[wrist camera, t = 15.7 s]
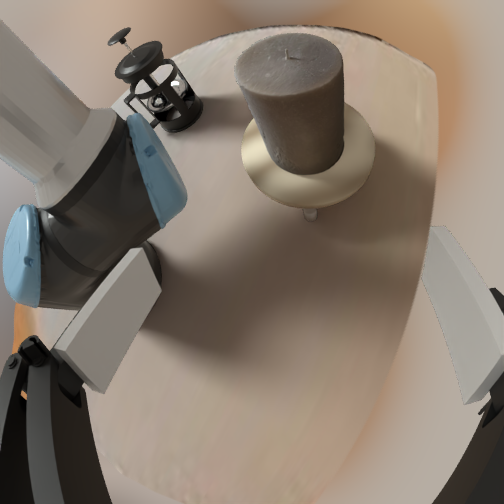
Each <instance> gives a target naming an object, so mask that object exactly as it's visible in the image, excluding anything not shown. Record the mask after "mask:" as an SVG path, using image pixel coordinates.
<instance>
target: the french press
mask: <svg viewBox="0 0 504 504" xmlns="http://www.w3.org/2000/svg"><path fill="white" fill-rule="evenodd" d="M130 30H131V28H129V27H128V28H124V29H122V30H120V31H119V32H117V33H116V34H115V35H114V36H113V37H112V38H111V39H110V40H109V41H108V45H109V46H110V45H113V44H115V43H117V42H120V43H121V44H124V45H125V46H126V47H127V48H128V49H129V51H130V53H129V54H128V55H127V56H125V57H124V58H123V59H122V61H121V62H120V63H119V64H118V66H117V68H116V70H115V76H116V77H117V78H119V79H123V81H124V82H125V83H129V84H130V83H131V86H130V92H131V94H129V95H128V96H127V97H126V98H125V99H124V102H125V103H126V104H127V105H128V106H129V107H130V108H131V109H132V110H133V111H134V112H135V113H138V112H137V111H136V110H135V109H134V108H133V107H132V106H131V105H130V104H129V103H130V102H131V101H132V100H133V99H134V98H135V97H136V98H137V100H138V101H139V102H140V103H141V104H142V105H143V106H144V107H145V108H146V109H147V110H148V111H149V112H150V113H151V115H152V116H153V117H154V118H155V119H154V120H153V121H152V122H151V123H150V126H151V127H152V128H153V129H154V128H155V127H156V126H157V125H158V124H159V123H160V124H161V127H162V128H163V129H164V130H165V131H167V132H179V131H182V130H184V129H186V128H188V127H190V126H191V125H192V124H193V123H195V121H196V120H197V119H198V118H199V117H200V115H201V113H202V110H203V103H202V101H201V99H199V98H198V97H197V95H196V94H195V92H194V91H193V89H192V88H191V86H190V85H189V83H188V82H187V80H186V79H185V77H184V76H183V74H182V73H181V72H180V70H179V69H178V67H177V66H176V64H175V63H174V61H173V60H171V59H164V56H163V52H162V44H161V43H160V42H159V41H152V42H148V43H145V44H143V45H141V46H139V47H137V48H136V49H134V50H133V51H132V50H131V48H130V47H129V46H128V45H127V43H126V39H125V38H124V37H125V36H126V35H127V34H128V33H129V32H130ZM165 64H171V65H172V66H173V70H172V72H171V74H170V75H169V76H168V78H167V79H166V80H165V81H164V82H163V83H161V84H159V83H158V82H157V80H156V79H155V78H154V77H153V75H152V74H151V73H152V72H154V71H155V70H156V69H157V68H158V67H159V66H161V65H165ZM177 73H178V75H179V76H180V78H181V79H175V78H176V76H177ZM142 79H143V80H144V81H145V82H146V83H147V84H148V86H149V87H150V88H151V89H152V90H151V91H149V92H146V93H143V94H135V88H136V86H137V84H138V82H139V81H140V80H142ZM148 98H149V99H148ZM140 99H148V102H147V107H148V108H147V107H146V105H145V104H144V103H143V102H142V101H141V100H140ZM186 100H190V101H193V103H192V105H191V107H190V108H188V107H187V106H186V104H185V103H184V102H183V101H186ZM174 107H175V108H176V109H177V110H178V111H179V113H180V114H181V116H180V117H178V118H176V119H174V120H171V121H167V122H166V116H167V113H168V112H169V110H170V109H172V108H174ZM151 111H152V112H154V114H153V113H152V112H151Z"/></svg>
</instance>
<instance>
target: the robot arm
mask: <svg viewBox="0 0 504 504" xmlns="http://www.w3.org/2000/svg"><path fill="white" fill-rule="evenodd" d="M0 159H1V160H3V161H4V162H5V163H6V164H8V165H9V166H11V167H12V168H13V169H14V170H16V171H17V172H18V173H20V174H21V175H23V176H24V177H25V178H27V179H28V180H29V181H31V182H32V183H33V185H34V187H35V194H36V200H37V204H38V206H39V207H40V208H36V207H35V206H34V205H33V204H31V205H22V206H20V207H19V208H18V209H17V210H16V212H15V213H14V215H13V217H12V219H11V221H10V224H9V227H8V230H7V234H6V238H5V244H4V252H3V275H4V281H5V285H6V289H7V291H8V293H9V295H10V296H11V297H12V299H13V300H14V301H15V302H17V303H19V304H23V305H27V306H30V307H33V308H37V307H43V308H53V309H65V310H78V311H79V312H78V313H77V314H76V316H75V317H74V318H73V321H71V322H70V324H69V325H68V327H67V328H66V329H65V331H64V332H63V333H62V335H61V336H60V338H59V339H58V340H57V342H56V343H55V345H54V346H53V348H52V349H51V350H50V351H49V350H48V349H47V348H46V346H45V345H44V344H43V343H42V341H41V340H40V339H39V338H38V336H36V335H33V336H30V337H28V338H27V339H25V340H24V341H23V342H22V343H21V345H20V347H19V349H18V353H15V354H12V355H11V356H10V357H9V358H8V360H7V361H6V364H5V366H4V369H3V372H2V375H1V378H0V504H112V502H111V499H110V496H109V493H108V490H107V487H106V484H105V480H104V477H103V474H102V470H101V467H100V463H99V459H98V455H97V451H96V447H95V442H94V438H93V433H92V428H91V423H90V417H89V411H88V405H87V398H86V392H85V389H84V388H83V387H82V385H83V383H84V382H85V383H86V384H87V385H88V386H89V387H90V388H91V389H92V390H94V391H97V392H99V393H102V394H105V392H106V390H107V388H108V386H109V384H110V382H111V380H112V378H113V376H114V374H115V373H116V371H117V369H118V367H119V365H120V363H121V361H122V360H123V358H124V356H125V354H126V352H127V350H128V349H129V347H130V345H131V343H132V341H133V340H134V338H135V336H136V334H137V333H138V331H139V329H140V327H141V326H142V324H143V322H144V320H145V319H146V317H147V315H148V313H149V312H150V311H151V309H152V308H153V306H154V304H155V302H156V300H157V298H158V297H159V295H160V293H161V292H162V290H161V288H160V286H161V267H160V263H159V259H158V257H157V254H156V252H155V250H154V249H153V247H152V246H151V245H150V244H149V243H148V242H147V241H146V240H147V239H148V238H150V237H151V236H152V235H154V234H155V233H156V232H157V231H159V230H160V229H163V228H164V227H165V226H166V223H168V222H169V221H170V220H171V219H172V218H173V217H175V216H176V215H177V214H178V213H179V212H181V211H182V210H183V208H184V207H185V205H186V202H187V191H186V188H185V185H184V183H183V181H182V179H181V177H180V175H179V173H178V171H177V169H176V167H175V165H174V163H173V162H172V160H171V158H170V156H169V154H168V153H167V151H166V149H165V148H164V146H163V144H162V143H161V141H160V139H159V138H158V136H157V135H156V133H155V131H154V130H153V128H152V127H151V126H150V124H149V123H148V121H147V120H146V119H145V118H144V117H143V116H142V115H141V114H140V113H135V114H133V115H129V116H128V117H127V120H126V121H125V120H123V119H122V118H121V117H120V116H119V115H118V114H117V113H116V112H115V111H114V110H113V109H112V108H99V109H90V108H88V107H87V106H86V105H85V104H84V103H83V102H82V101H81V100H80V99H79V98H78V97H77V96H76V95H75V94H74V93H73V92H72V91H71V90H70V89H69V88H68V87H67V86H66V85H65V84H64V83H63V82H62V81H61V80H60V79H59V78H58V77H57V76H56V75H55V74H54V73H53V72H52V71H51V70H50V69H49V68H48V67H47V66H46V65H45V64H44V63H43V62H42V61H41V60H40V59H39V58H38V57H37V56H36V55H35V54H34V53H33V52H32V51H31V50H30V49H29V48H28V47H27V46H26V45H25V44H24V43H23V42H22V41H21V40H20V39H19V38H18V37H17V36H16V35H15V34H14V32H12V31H11V29H10V28H9V27H8V26H7V25H6V24H4V22H3V21H2V20H1V19H0ZM422 281H423V283H424V286H425V288H426V290H427V292H428V295H429V297H430V300H431V302H432V305H433V307H434V310H435V312H436V315H437V318H438V320H439V323H440V325H441V328H442V331H443V334H444V337H445V340H446V343H447V346H448V349H449V351H450V355H451V358H452V361H453V365H454V368H455V372H456V375H457V379H458V383H459V387H460V391H461V395H462V399H463V403H464V405H466V404H470V403H473V402H476V401H479V400H482V399H483V398H484V396H485V395H486V394H487V393H488V392H489V391H490V395H491V399H490V400H489V401H488V402H487V403H486V405H485V406H484V407H483V408H482V409H481V410H480V412H479V413H478V414H479V415H481V414H482V413H483V412H484V414H483V416H482V418H481V420H480V423H479V425H478V427H477V429H476V432H475V433H474V435H473V438H472V440H471V442H470V443H469V445H468V447H467V449H466V451H465V453H464V455H463V457H462V459H461V460H460V462H459V464H458V465H457V467H456V469H455V471H454V472H453V474H452V475H451V477H450V478H449V480H448V482H447V483H446V485H445V486H444V488H443V489H442V491H441V492H440V493H439V495H438V496H437V498H436V499H435V500H434V502H433V503H432V504H504V296H503V295H502V294H501V293H500V292H499V291H498V290H497V289H496V288H490V289H489V288H488V287H487V285H486V283H485V282H484V280H483V279H482V277H481V276H480V274H479V272H478V271H477V269H476V268H475V266H474V265H473V263H472V262H471V260H470V259H469V257H468V256H467V255H466V253H465V252H464V250H463V249H462V247H461V246H460V245H459V243H458V242H457V241H456V239H455V238H454V237H453V235H452V234H451V233H450V231H449V230H448V229H447V227H446V226H432V227H430V233H429V240H428V246H427V252H426V258H425V264H424V269H423V274H422ZM22 390H23V391H24V392H25V393H26V394H27V400H25V399H24V398H23V397H22V396H21V391H22Z"/></svg>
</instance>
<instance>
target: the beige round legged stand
mask: <svg viewBox="0 0 504 504" xmlns="http://www.w3.org/2000/svg"><path fill="white" fill-rule="evenodd" d="M343 138H344V143H345V144H344V150H343V153H342V156H341V157H340V159H339V160H338V162H337V163H335V165H334V166H332V167H331V168H330V169H328V170H326V171H324V172H322V173H318V174H313V175H297V174H293V173H290V172H287V171H285V170H283V169H281V168H280V167H278V166H277V165H276V164H275V162H274V161H273V160H272V159H271V157H270V155H269V153H268V151H267V148H266V146H265V144H264V141H263V139H262V136H261V134H260V132H259V129H258V127H257V124H256V122H255V120H254V118H253V119H252V121H251V122H250V123H249V125H248V127H247V129H246V131H245V133H244V136H243V140H242V146H241V154H242V160H243V164H244V167H245V169H246V171H247V173H248V175H249V176H250V178H251V180H252V181H253V183H254V184H255V185H256V186H257V188H258V189H259V190H260V191H261V192H263V193H264V194H265V195H266V196H268V197H269V198H271V199H272V200H275V201H277V202H279V203H281V204H284V205H287V206H291V207H296V208H303V212H304V216H305V219H306V220H307V221H310V222H312V221H314V220H316V218H317V209H316V208H322V207H327V206H331V205H334V204H337V203H339V202H342V201H344V200H345V199H347V198H349V197H350V196H352V195H353V194H354V193H355V192H357V191H358V190H359V189H360V188H361V187H362V185H363V184H364V183H365V181H366V180H367V178H368V176H369V174H370V172H371V169H372V166H373V162H374V158H375V141H374V136H373V133H372V131H371V128H370V127H369V125H368V123H367V122H366V120H365V119H364V118H363V116H362V115H361V114H360V113H359V112H358V111H356V110H355V109H354V108H353V107H351V106H350V105H348V104H346V103H345V102H344V136H343Z"/></svg>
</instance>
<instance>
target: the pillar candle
mask: <svg viewBox="0 0 504 504" xmlns="http://www.w3.org/2000/svg"><path fill="white" fill-rule="evenodd" d="M234 75H235V78H236V80H237V81H236V82H237V84H239V86H240V88H241V90H242V92H243V94H244V97H245V99H246V101H247V103H248V107H249V109H250V111H251V113H252V115H253V117H254V120H255V122H256V124H257V127H258V129H259V132H260V134H261V136H262V139H263V141H264V144H265V146H266V148H267V151H268V153H269V155H270V157H271V159H272V160H273V161H274V162H275V164H276V165H277V166H278V167H280V168H281V169H283V170H285V171H287V172H290V173H293V174H297V175H313V174H318V173H322V172H324V171H326V170H328V169H330V168H331V167H332V166H334V165H335V163H337V162H338V160H339V159H340V157H341V156H342V153H343V150H344V144H345V143H344V138H343V136H344V73H343V59H342V55H341V53H340V52H339V50H338V48H337V47H336V46H335V45H334V44H332V43H331V42H330V41H328V40H326V39H324V38H321V37H318V36H315V35H311V34H304V33H287V34H280V35H275V36H269V37H266V38H264V39H262V40H259V41H257V42H255V43H254V44H252V45H251V47H249V48H248V49H246V50H245V51H243V52H242V55H240V56H239V57H238V60H237V62H236V65H235V66H234Z"/></svg>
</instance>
